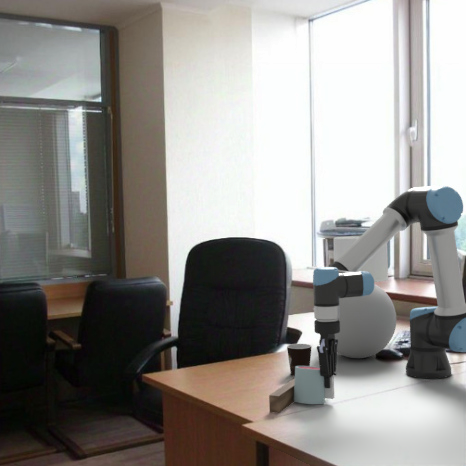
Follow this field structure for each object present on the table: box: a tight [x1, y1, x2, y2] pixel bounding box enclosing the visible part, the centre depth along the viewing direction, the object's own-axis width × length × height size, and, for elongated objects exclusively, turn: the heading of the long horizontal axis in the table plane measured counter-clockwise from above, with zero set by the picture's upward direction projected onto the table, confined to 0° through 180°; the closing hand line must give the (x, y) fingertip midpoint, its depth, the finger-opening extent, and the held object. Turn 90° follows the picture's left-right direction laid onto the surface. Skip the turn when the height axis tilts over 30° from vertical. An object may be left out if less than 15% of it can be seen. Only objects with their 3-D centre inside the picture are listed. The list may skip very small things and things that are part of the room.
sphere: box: [335, 283, 397, 359], centre depth 274 cm, size 30×30×30 cm
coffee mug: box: [286, 343, 312, 377], centre depth 251 cm, size 12×9×10 cm
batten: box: [268, 377, 296, 414], centre depth 217 cm, size 3×26×5 cm, turn 155°
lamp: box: [333, 235, 389, 283], centre depth 307 cm, size 23×23×44 cm
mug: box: [294, 365, 326, 405], centre depth 215 cm, size 14×9×10 cm
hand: (329, 397), depth 213 cm, fingers closed
